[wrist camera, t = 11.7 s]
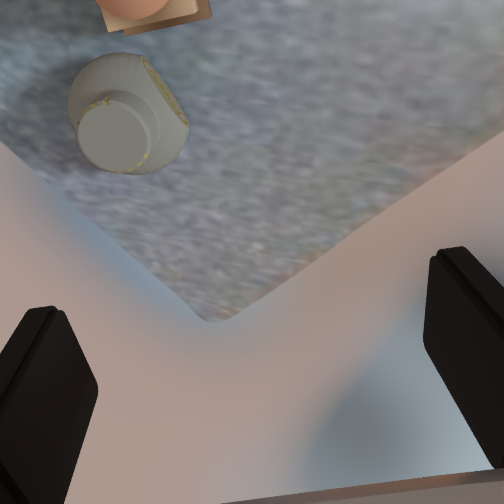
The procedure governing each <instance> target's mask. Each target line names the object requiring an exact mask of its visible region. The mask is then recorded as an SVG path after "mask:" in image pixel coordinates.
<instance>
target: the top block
mask: <svg viewBox="0 0 504 504" xmlns="http://www.w3.org/2000/svg"><path fill="white" fill-rule="evenodd" d="M100 8H101V11H102V14H103V17H104V20H105V23H106V26H107V29H108V32H113V31H117V30H122V29H126V28H131V27H135V26H140V25H145V24H149V23H154V22H158V21H163V20H167V19H172V18H176V17H181V16H185V15H190V14H194V13H196V12H197V11H198V10H199V7H198V3H197V0H171V2H170V3H169V4H168V6H167V7H166V8H164V9H163V10H162V11H160V12H158V13H156V14H153V15H150V16H147V17H144V18H141V19H135V20H129V19H122V18H119V17H116V16H114V15H112V14H110V13H109V12H107V11H105V10H104V9H103V8H102V7H101V6H100Z"/></svg>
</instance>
